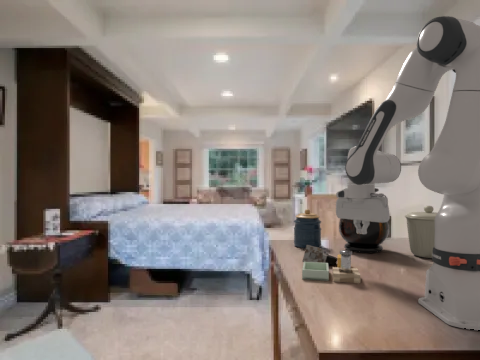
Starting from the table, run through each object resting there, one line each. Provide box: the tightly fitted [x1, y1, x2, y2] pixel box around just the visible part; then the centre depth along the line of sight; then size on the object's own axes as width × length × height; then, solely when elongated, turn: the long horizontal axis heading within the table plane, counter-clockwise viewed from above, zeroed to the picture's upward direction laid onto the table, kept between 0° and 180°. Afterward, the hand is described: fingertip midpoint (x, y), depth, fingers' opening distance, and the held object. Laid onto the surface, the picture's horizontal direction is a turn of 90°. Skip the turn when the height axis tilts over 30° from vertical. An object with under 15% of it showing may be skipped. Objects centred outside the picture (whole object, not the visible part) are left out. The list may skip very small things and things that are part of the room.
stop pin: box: [339, 249, 353, 273], centre depth 112 cm, size 4×4×9 cm
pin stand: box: [332, 266, 361, 284], centre depth 112 cm, size 8×8×2 cm
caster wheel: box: [302, 245, 337, 266], centre depth 132 cm, size 7×11×10 cm
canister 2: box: [404, 205, 438, 259], centre depth 146 cm, size 18×18×21 cm
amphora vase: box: [338, 187, 390, 254], centre depth 158 cm, size 22×22×28 cm
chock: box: [336, 253, 341, 268], centre depth 127 cm, size 6×4×4 cm, turn 164°
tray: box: [301, 262, 330, 282], centre depth 116 cm, size 11×8×3 cm
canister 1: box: [293, 208, 322, 249], centre depth 168 cm, size 13×13×18 cm
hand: (361, 233), depth 119 cm, fingers closed
